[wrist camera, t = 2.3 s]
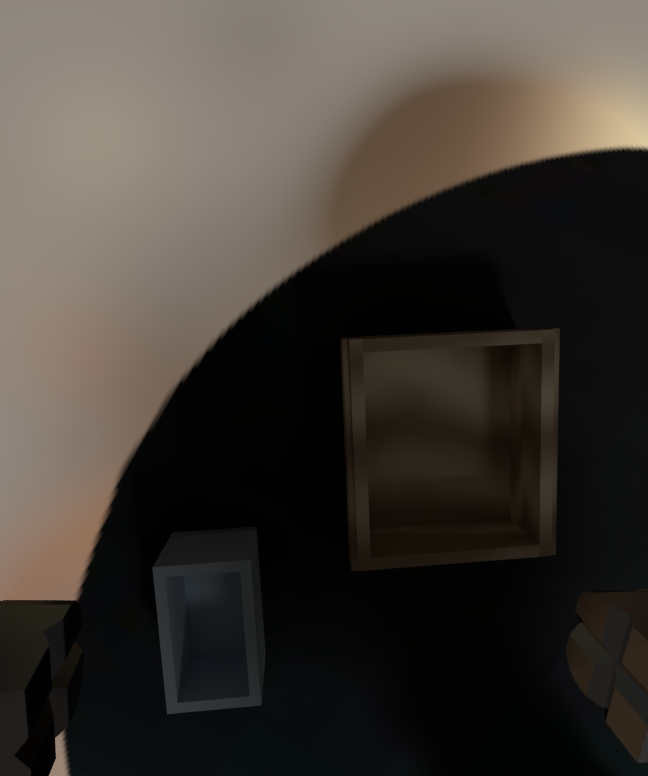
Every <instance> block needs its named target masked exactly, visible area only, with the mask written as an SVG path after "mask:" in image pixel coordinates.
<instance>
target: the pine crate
mask: <svg viewBox="0 0 648 776" xmlns="http://www.w3.org/2000/svg"><path fill="white" fill-rule="evenodd" d="M559 332H560V328H543V329H502V330H482V331H462V332H442V333H422V334H402V335H382V336H362V337H342V338H341V339H340V349H341V372H342V395H343V419H344V442H345V465H346V488H347V511H348V534H349V557H350V565H351V569H352V571H355V570H358V571H366V570H379V569H392V568H404V567H417V566H430V565H442V564H455V563H468V562H480V561H493V560H505V559H518V558H531V557H543V556H551V555H556V505H557V447H558V390H559Z"/></svg>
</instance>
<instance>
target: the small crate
mask: <svg viewBox="0 0 648 776" xmlns="http://www.w3.org/2000/svg"><path fill="white" fill-rule="evenodd" d="M152 568H153V578H154V588H155V598H156V608H157V617H158V627H159V637H160V647H161V657H162V667H163V677H164V686H165V696H166V706H167V714H173V713H183V712H194V711H204V710H215V709H225V708H236V707H247V706H257V705H261V702H262V689H263V677H264V665H265V640H264V625H263V611H262V597H261V582H260V568H259V554H258V539H257V527H243V528H229V529H216V530H202V531H188V532H174V533H172V534H171V536H170V538H169V540H168V541H167V543H166V545H165V547H164V548H163V550H162V552H161V553H160V555H159V557H158V559H157V560H156V562H155V564H154V566H153V567H152Z"/></svg>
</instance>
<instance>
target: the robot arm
mask: <svg viewBox="0 0 648 776" xmlns="http://www.w3.org/2000/svg"><path fill="white" fill-rule="evenodd" d="M575 613H576V615H577V617H578V619H579V621H580V624H579V625H578V626H577V627H576V628H575V629H574V630H573V631H572V632H571V633H570V635H569V640H568V645H567V651H566V652H567V657H568V663H569V668H570V671H571V673H572V675H573V677H574V679H575V682H576V683H577V685H578V686H579V687H580V689H581V690H582V691H583V693H584V694H585V695H586V697H588V698H589V699H591V700H593V701H594V702H596V703H597V704H599V705H600V706H602V707H603V708H604V710H605V721H606V723H607V724H608V725H609V727H610V728H611V729H612V731H613V732H614V733H615V734H616V736H617V737H618V738H619V740H620V741H621V742H622V743H623V745H624V746H625V747H626V749H627V750H628V751H629V752H630V754H631V755H632V756H633V758H634V759H635V760H636V761H637V763H643V762H648V589H638V590H632V591H590V592H584V593H583V595H582V596H581V597H580V598H579V600H578V603H577V607H576V611H575ZM81 626H82V618H81V605H80V604H79V603H78V602H77V601H63V600H62V601H61V600H58V601H57V600H51V601H50V600H4V601H0V776H49V774H50V771H51V769H52V766H53V763H54V761H55V759H56V753H55V737H56V736H58V735H59V734H60V733H61V732H62V731H63V730H64V729H66V728H67V727H68V726H69V724H70V721H71V718H72V716H73V713H74V710H75V708H76V705H77V700H78V696H79V692H80V688H81V684H82V674H83V650H82V649H81V648H80V647H79V646H78V645H77V644H76V643H75V642H74V641H75V639H76V637H77V635H78V632H79V630H80V628H81Z"/></svg>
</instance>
